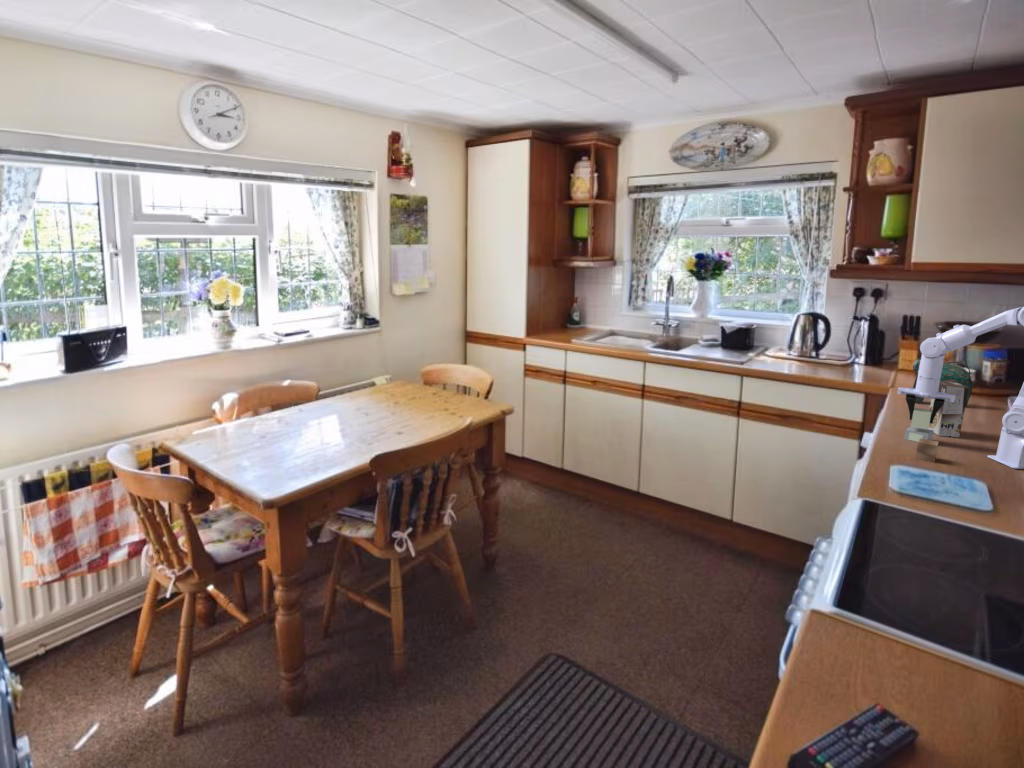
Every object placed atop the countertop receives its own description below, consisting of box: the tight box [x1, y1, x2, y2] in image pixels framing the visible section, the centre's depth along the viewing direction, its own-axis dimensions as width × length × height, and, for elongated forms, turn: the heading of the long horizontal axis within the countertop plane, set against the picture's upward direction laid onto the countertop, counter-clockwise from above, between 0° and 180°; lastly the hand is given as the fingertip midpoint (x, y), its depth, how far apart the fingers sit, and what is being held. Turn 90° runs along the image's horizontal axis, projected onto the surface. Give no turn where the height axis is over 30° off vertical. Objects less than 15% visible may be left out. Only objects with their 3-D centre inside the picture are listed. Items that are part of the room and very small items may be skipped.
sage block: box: [910, 407, 932, 429], centre depth 193 cm, size 4×4×5 cm
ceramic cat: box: [912, 353, 974, 408], centre depth 237 cm, size 20×6×20 cm, turn 73°
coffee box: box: [929, 381, 969, 438], centre depth 202 cm, size 9×6×16 cm
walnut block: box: [915, 438, 939, 463], centre depth 178 cm, size 4×4×5 cm
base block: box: [903, 425, 934, 443], centre depth 195 cm, size 6×6×4 cm
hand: (921, 420), depth 193 cm, fingers closed on sage block, 4 cm apart
